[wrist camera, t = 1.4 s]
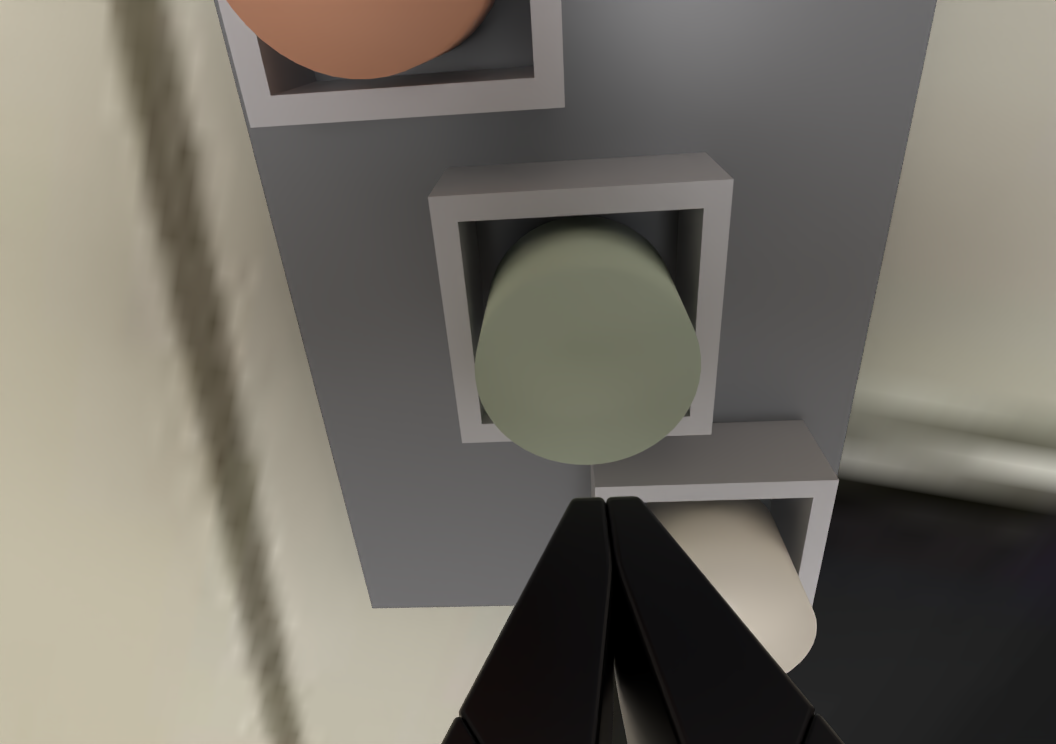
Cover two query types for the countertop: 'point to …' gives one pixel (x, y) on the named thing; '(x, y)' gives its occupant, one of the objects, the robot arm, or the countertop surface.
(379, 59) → the terracotta button
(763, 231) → the panel
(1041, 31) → the countertop surface
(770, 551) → the cream button
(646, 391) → the sage button
